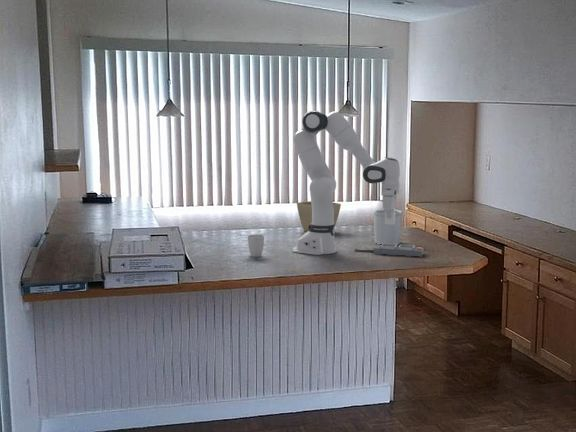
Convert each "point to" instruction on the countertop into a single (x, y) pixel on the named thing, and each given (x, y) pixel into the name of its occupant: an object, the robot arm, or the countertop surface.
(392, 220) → the charger
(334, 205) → the flower pot
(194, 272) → the countertop surface
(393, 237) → the utensil holder
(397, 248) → the power strip
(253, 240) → the cup
